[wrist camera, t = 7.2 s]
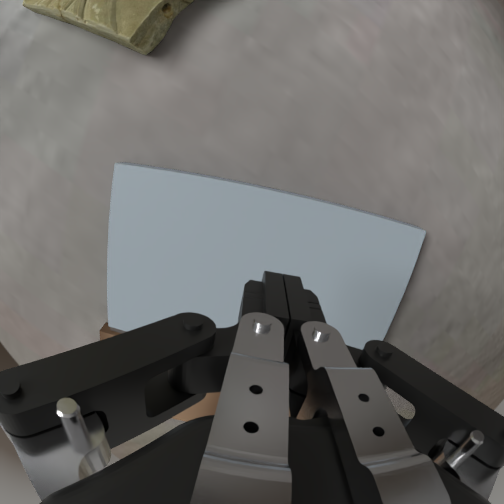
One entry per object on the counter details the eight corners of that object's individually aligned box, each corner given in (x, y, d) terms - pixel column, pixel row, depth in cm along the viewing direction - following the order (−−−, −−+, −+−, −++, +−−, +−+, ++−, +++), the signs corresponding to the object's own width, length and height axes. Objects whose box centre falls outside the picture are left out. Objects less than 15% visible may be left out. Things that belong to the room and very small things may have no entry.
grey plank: (417, 226, 22) (426, 231, 21) (362, 362, 27) (366, 371, 25) (123, 161, 21) (114, 163, 19) (114, 317, 25) (108, 326, 24)
